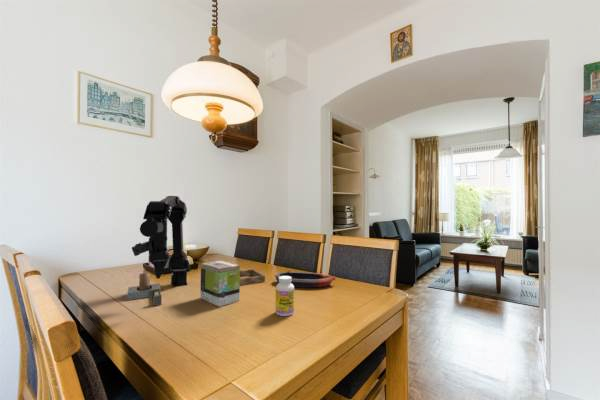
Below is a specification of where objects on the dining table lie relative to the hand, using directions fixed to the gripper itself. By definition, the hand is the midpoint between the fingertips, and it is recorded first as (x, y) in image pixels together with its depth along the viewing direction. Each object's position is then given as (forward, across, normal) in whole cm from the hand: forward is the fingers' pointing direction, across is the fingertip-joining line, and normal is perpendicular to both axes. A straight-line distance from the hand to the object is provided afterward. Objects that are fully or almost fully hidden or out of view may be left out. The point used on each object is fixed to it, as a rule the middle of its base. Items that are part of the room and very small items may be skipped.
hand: (157, 276), depth 101 cm
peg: (+12, -21, -4) cm, 25 cm away
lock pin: (+12, -10, 0) cm, 15 cm away
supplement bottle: (+13, +27, +40) cm, 50 cm away
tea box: (+12, +1, +23) cm, 26 cm away
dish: (+12, -2, +65) cm, 66 cm away
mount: (+12, -21, -4) cm, 25 cm away
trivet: (+12, -23, +41) cm, 48 cm away
